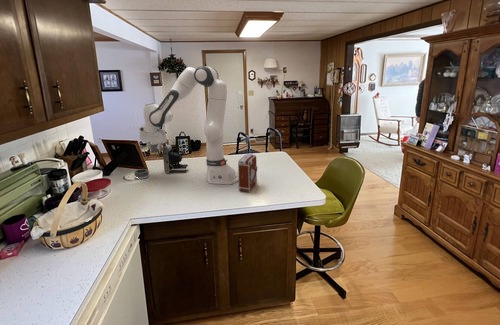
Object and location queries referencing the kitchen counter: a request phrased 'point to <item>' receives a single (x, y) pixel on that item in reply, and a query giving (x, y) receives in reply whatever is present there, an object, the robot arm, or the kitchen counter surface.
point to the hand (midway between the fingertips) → (154, 148)
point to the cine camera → (247, 172)
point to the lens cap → (154, 148)
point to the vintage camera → (172, 159)
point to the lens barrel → (142, 173)
